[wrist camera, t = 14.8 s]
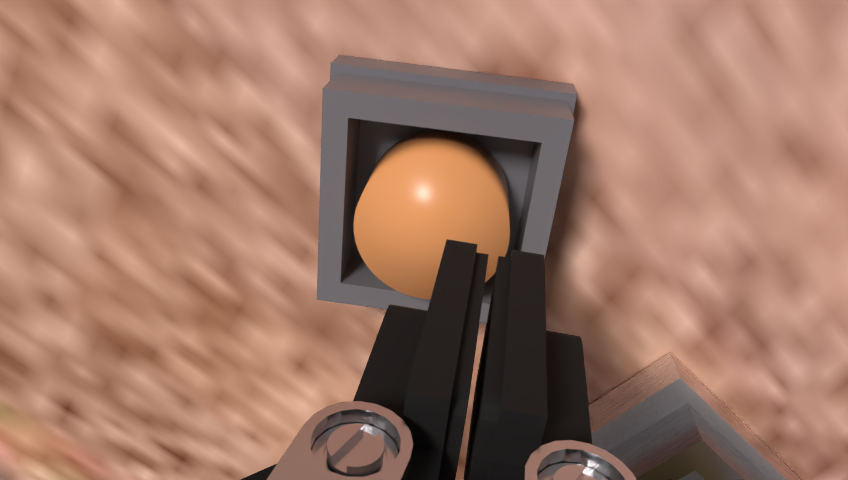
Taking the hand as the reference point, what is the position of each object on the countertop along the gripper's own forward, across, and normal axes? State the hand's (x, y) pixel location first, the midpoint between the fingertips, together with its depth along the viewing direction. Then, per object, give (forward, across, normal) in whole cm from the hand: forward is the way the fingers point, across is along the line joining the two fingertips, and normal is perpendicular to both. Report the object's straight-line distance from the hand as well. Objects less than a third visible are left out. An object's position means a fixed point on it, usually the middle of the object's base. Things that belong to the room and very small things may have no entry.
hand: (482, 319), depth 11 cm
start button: (+6, +1, 0) cm, 6 cm away
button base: (+7, +2, 0) cm, 7 cm away
